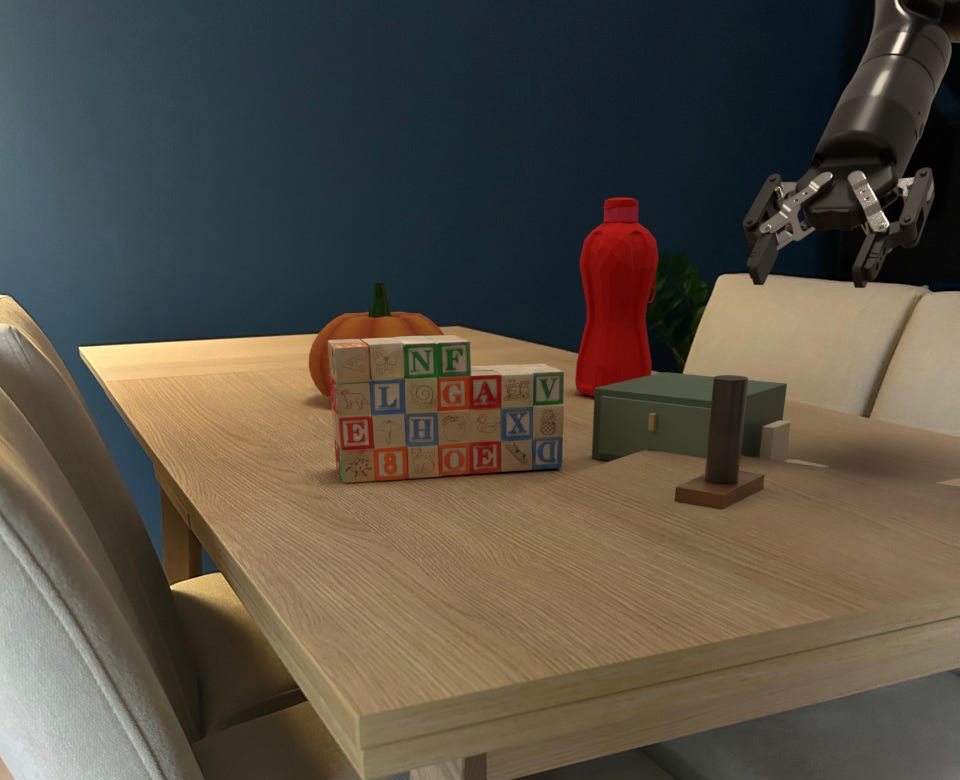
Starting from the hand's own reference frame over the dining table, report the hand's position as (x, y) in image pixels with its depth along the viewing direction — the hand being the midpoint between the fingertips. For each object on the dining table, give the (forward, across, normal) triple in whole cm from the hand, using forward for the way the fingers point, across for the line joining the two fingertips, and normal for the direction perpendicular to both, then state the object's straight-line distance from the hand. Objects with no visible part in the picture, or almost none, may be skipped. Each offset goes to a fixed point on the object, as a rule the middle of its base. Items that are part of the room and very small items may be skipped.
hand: (805, 279), depth 79 cm
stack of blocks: (+21, -29, +4) cm, 36 cm away
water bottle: (-14, -40, +39) cm, 57 cm away
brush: (+20, -1, +5) cm, 21 cm away
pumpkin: (+2, -63, +22) cm, 67 cm away
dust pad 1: (+4, -6, +18) cm, 19 cm away
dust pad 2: (+8, -1, +16) cm, 17 cm away
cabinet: (+7, -14, +18) cm, 24 cm away
